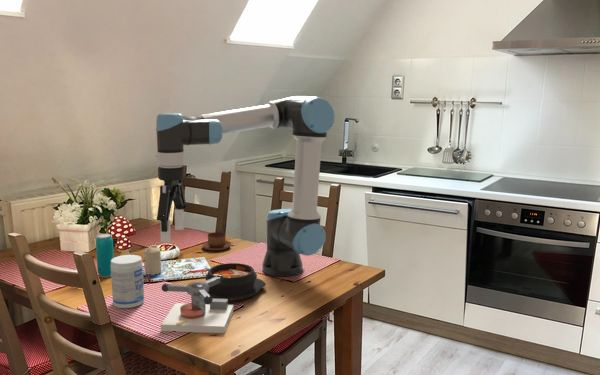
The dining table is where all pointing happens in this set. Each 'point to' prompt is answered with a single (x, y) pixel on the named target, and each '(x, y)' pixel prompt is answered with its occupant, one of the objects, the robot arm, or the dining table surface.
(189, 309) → the capstan
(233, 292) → the casserole
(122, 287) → the supplement tub
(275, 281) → the dining table surface
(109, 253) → the beverage can
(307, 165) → the robot arm
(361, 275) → the dining table surface
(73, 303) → the dining table surface
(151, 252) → the candle
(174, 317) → the stand
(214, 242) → the cup and saucer
